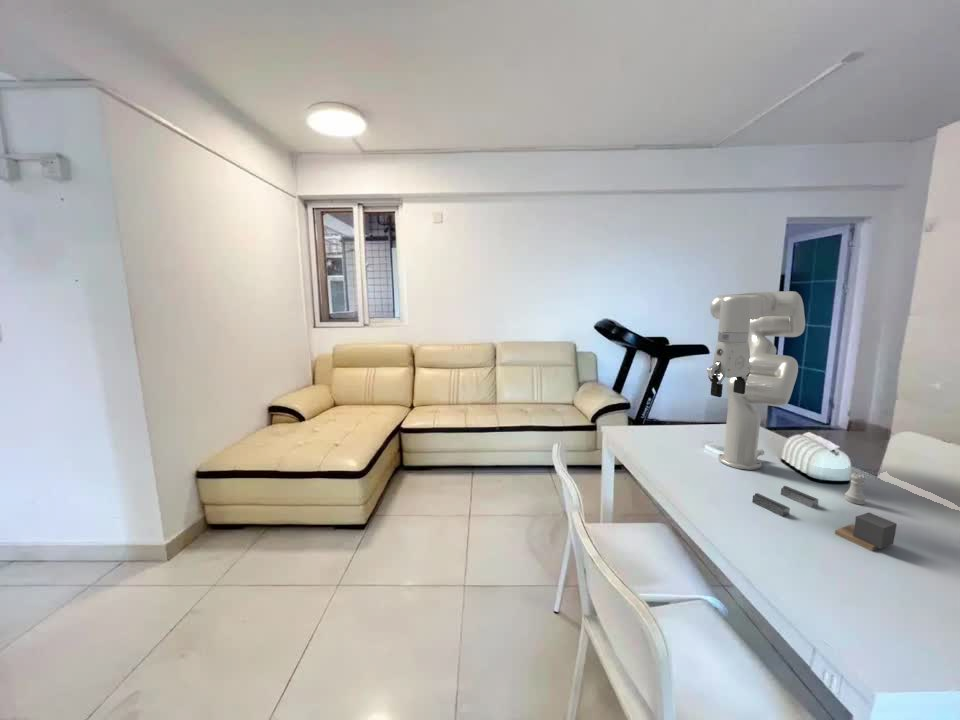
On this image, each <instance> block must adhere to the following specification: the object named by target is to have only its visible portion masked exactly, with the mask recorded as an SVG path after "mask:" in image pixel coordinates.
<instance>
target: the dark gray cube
mask: <svg viewBox="0 0 960 720" xmlns="http://www.w3.org/2000/svg"><path fill="white" fill-rule="evenodd" d="M854 525H855V526H854V533H853V536H854V537H856V538H858V539H861V540H863V541H865V542H867V543H869V544H872V545H874V546H876V547H878V549H882V548H883V549H884V548H885V547H888V546H891V545H893V544H894V543H895V542H894V541H895V537H896V536H895V535H896V529H897V525H898V524H897V523H896V522H893V521H892V520H889V519H886V518H883V517H882V516H879V515H876V514H874V513H871V512H866V513H861V514H859V515H857V516H855V521H854Z"/></svg>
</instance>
